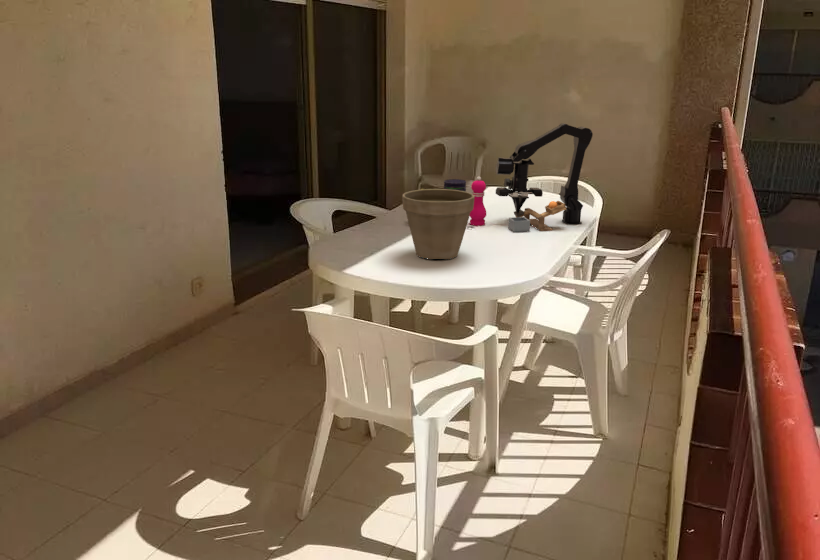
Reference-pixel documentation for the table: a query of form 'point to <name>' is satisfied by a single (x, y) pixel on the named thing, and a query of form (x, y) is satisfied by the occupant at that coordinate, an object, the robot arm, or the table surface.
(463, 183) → the storage jar
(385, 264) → the table surface
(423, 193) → the plant pot
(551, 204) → the ball
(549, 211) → the catapult lever
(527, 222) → the grey open box
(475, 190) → the pepper mill
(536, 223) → the frame
